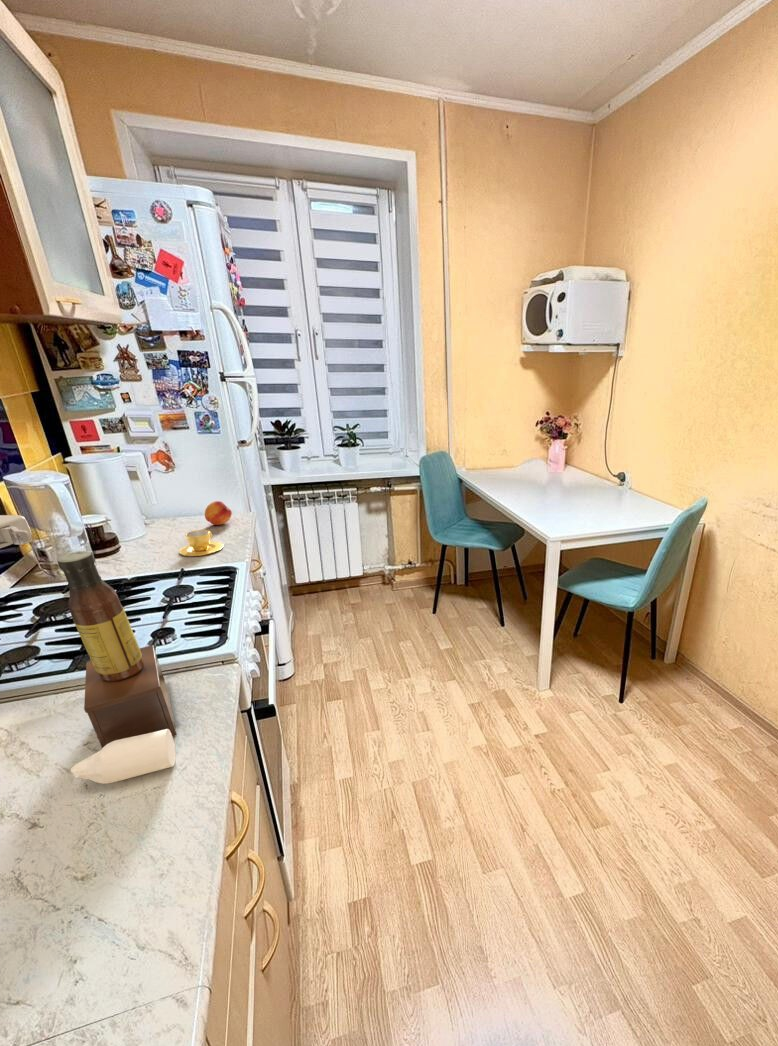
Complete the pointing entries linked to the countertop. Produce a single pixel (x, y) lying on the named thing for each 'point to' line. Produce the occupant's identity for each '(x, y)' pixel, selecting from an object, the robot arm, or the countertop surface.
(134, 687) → the bread box lid
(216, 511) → the fruit
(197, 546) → the cup
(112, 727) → the bread box
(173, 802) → the countertop surface
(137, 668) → the sauce bottle
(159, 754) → the cream bottle
